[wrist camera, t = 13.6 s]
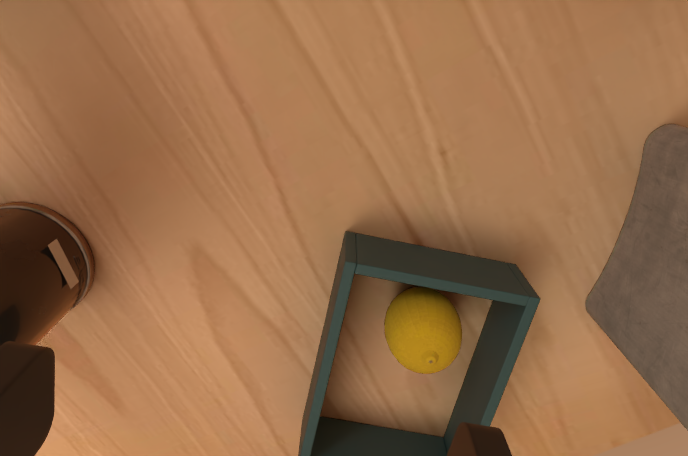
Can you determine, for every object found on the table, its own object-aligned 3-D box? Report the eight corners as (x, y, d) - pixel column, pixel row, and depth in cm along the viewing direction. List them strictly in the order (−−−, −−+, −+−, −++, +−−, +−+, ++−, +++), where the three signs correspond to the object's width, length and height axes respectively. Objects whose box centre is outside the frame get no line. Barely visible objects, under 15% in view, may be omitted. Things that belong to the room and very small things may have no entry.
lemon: (369, 315, 42) (374, 378, 34) (400, 259, 40) (412, 313, 32) (430, 339, 42) (447, 406, 35) (462, 285, 41) (488, 343, 33)
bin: (449, 445, 47) (462, 496, 41) (302, 420, 46) (296, 469, 40) (516, 264, 40) (541, 298, 35) (345, 230, 39) (345, 261, 34)
